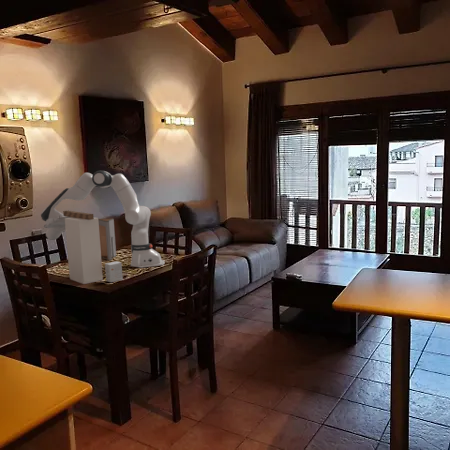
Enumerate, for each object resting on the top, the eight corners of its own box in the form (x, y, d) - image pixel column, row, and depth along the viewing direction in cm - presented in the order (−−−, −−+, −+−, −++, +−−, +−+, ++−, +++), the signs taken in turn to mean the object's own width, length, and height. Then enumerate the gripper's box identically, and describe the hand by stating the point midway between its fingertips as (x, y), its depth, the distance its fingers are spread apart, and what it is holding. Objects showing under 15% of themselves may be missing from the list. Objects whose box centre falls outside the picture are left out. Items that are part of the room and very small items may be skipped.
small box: (118, 278, 280) (117, 261, 279) (122, 279, 276) (121, 262, 275) (106, 280, 275) (104, 263, 274) (110, 282, 271) (109, 264, 270)
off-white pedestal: (69, 279, 283) (64, 218, 277) (88, 275, 291) (83, 215, 285) (84, 284, 270) (78, 220, 264) (102, 279, 278) (98, 217, 272)
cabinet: (98, 256, 347) (95, 218, 343) (110, 254, 352) (108, 217, 348) (109, 260, 330) (106, 221, 326) (122, 258, 336) (119, 219, 332)
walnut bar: (63, 216, 288) (63, 211, 288) (68, 215, 290) (67, 210, 290) (88, 219, 265) (88, 214, 265) (93, 219, 267) (93, 214, 267)
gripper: (41, 223, 292) (48, 213, 282) (72, 219, 306) (80, 209, 296) (44, 232, 291) (51, 222, 281) (75, 227, 304) (83, 218, 295)
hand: (66, 215), depth 289 cm, fingers open, 8 cm apart
